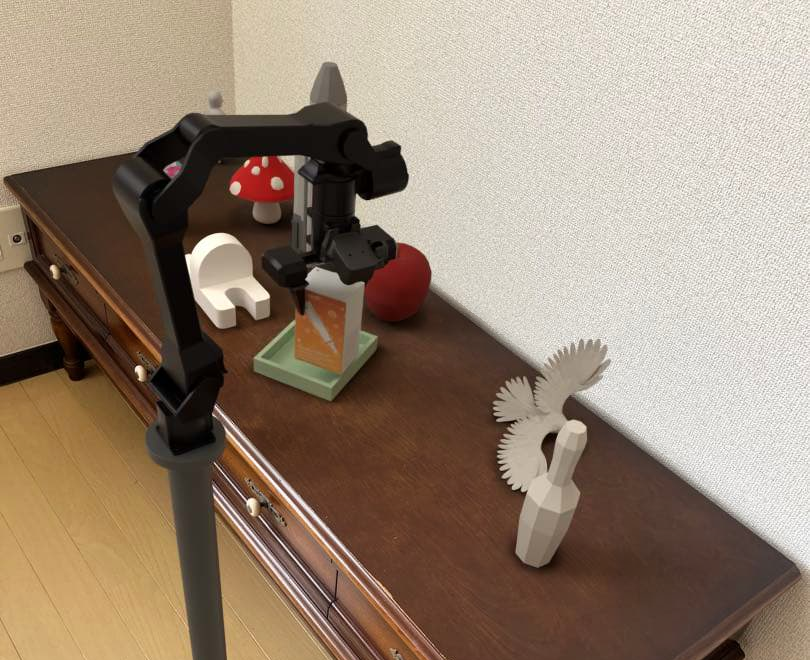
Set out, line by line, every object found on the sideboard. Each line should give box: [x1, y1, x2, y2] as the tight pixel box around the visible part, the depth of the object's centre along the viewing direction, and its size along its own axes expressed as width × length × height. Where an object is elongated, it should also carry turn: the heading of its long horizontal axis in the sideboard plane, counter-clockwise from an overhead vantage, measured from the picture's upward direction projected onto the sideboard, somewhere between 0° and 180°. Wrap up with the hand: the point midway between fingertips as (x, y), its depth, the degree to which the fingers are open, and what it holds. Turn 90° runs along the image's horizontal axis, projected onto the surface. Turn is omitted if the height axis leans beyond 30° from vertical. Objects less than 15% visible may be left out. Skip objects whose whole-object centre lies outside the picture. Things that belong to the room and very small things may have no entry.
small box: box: [294, 267, 365, 375], centre depth 121 cm, size 8×6×13 cm
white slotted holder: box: [185, 232, 271, 330], centre depth 137 cm, size 10×18×11 cm, turn 34°
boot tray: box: [253, 319, 379, 402], centre depth 130 cm, size 16×14×3 cm
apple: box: [364, 241, 433, 323], centre depth 137 cm, size 12×12×13 cm
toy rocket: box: [290, 61, 357, 273], centre depth 140 cm, size 12×9×35 cm
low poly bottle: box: [515, 419, 588, 569], centre depth 99 cm, size 6×6×22 cm
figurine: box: [203, 89, 226, 164], centre depth 172 cm, size 9×4×15 cm, turn 42°
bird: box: [492, 338, 612, 493], centre depth 120 cm, size 21×16×15 cm
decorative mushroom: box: [229, 156, 294, 225], centre depth 156 cm, size 14×14×15 cm
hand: (328, 306), depth 119 cm, fingers closed on small box, 9 cm apart
